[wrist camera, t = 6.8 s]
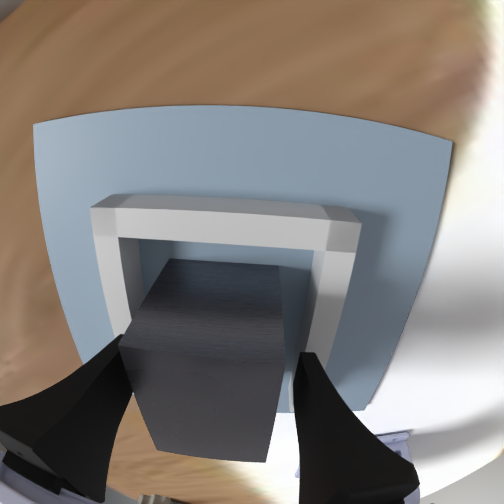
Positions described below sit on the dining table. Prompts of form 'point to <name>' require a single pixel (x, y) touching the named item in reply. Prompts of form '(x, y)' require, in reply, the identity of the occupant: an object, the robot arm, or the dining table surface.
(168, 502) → the egg carton
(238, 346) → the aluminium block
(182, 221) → the coupler cradle
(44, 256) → the dining table surface
